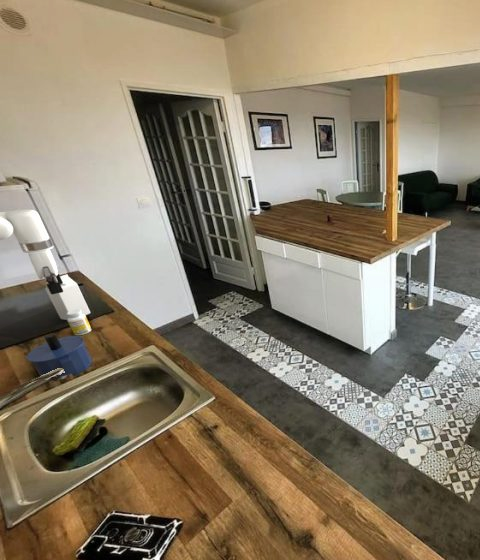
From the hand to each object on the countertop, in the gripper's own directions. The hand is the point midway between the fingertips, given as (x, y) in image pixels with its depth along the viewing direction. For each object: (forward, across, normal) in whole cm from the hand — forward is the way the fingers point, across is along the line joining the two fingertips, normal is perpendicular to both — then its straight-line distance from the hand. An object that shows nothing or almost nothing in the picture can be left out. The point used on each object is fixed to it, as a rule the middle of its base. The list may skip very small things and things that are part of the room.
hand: (57, 288), depth 116 cm
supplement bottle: (+21, -1, +1) cm, 21 cm away
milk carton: (+21, -19, 0) cm, 28 cm away
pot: (+21, +24, -4) cm, 32 cm away
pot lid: (+12, +24, -4) cm, 28 cm away
